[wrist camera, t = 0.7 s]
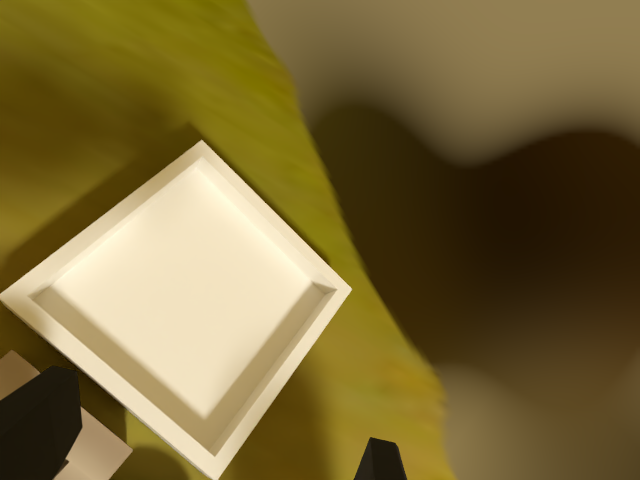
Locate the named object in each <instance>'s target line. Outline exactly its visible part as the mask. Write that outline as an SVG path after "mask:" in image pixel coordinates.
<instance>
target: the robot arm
mask: <svg viewBox="0 0 640 480" xmlns="http://www.w3.org/2000/svg"><path fill="white" fill-rule="evenodd" d="M82 428H83V425H82V415H81V405H80V395H79V385H78V375H77V371H74V370H70V369H65V368H61V367H56V366H51V367H49V368H48V369H46V370H45V371H43V372H42V373H40V374H39V375H37V376H36V377H34V378H33V379H31V380H30V381H28V382H27V383H25V384H24V385H22V386H21V387H19V388H18V389H16V390H15V391H13V392H12V393H10V394H9V395H7V396H6V397H4V398H3V399H1V400H0V480H53V478H54V477H55V475H56V474H57V472H58V471H59V469H60V467H61V466H62V464H63V462H64V461H65V459H66V457H67V455H68V454H69V452H70V450H71V448H72V446H73V444H74V443H75V441H76V439H77V437H78V435H79V433H80V432H81V430H82ZM354 480H407V477H406V474H405V471H404V467H403V464H402V460H401V457H400V453H399V449H398V446H397V445H396V443H394V442H389V441H385V440H380V439H376V438H372V437H370V439H369V441H368V444H367V447H366V449H365V452H364V454H363V457H362V460H361V462H360V465H359V467H358V470H357V473H356V475H355V478H354Z"/></svg>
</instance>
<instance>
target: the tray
mask: <svg viewBox="0 0 640 480" xmlns="http://www.w3.org/2000/svg"><path fill="white" fill-rule="evenodd" d="M351 290H352V288H351V287H350V286H349V285H348V284H347V283H346V282H344V281H343V280H342V279H341V278H340V277H339V276H338V275H337V274H336V273H335V272H334V271H333V270H332V269H331V268H330V267H329V266H328V265H327V264H326V263H325V262H324V261H323V260H322V259H321V258H320V257H319V256H318V255H317V254H316V253H315V252H314V251H313V250H312V249H311V248H310V247H309V246H308V245H307V244H306V243H305V242H304V241H303V240H302V239H301V238H300V237H299V236H298V235H297V234H296V233H295V232H294V231H293V230H292V229H291V228H290V227H289V226H288V225H287V224H286V223H285V222H284V221H283V220H282V219H281V218H280V217H279V216H278V215H277V214H276V213H275V212H274V211H273V210H272V209H271V208H270V207H269V206H268V205H267V204H266V203H265V202H264V201H263V200H262V199H261V198H260V197H259V196H258V195H257V194H256V193H255V192H254V191H253V190H252V189H251V188H250V187H249V186H248V185H247V184H246V183H245V182H244V181H243V180H242V179H241V178H240V177H239V176H238V175H237V174H236V173H235V172H234V171H233V170H232V169H231V168H230V167H229V166H228V165H227V164H226V163H225V162H224V161H223V160H222V159H221V158H220V157H219V156H218V155H217V154H216V153H215V152H214V151H213V150H212V149H211V148H210V147H209V146H208V145H207V144H206V143H205V142H204V141H203V140H201V141H200V142H198V143H197V144H196V145H194V146H193V147H192V148H190V149H189V150H188V151H187V152H185V153H184V154H183V155H181V156H180V157H179V158H177V159H176V160H175V161H173V162H172V163H171V164H170V165H168V166H167V167H166V168H164V169H163V170H162V171H160V172H159V173H158V174H156V175H155V176H154V177H153V178H151V179H150V180H149V181H147V182H146V183H145V184H143V185H142V186H141V187H139V188H138V189H137V190H136V191H134V192H133V193H132V194H130V195H129V196H128V197H126V198H125V199H124V200H122V201H121V202H120V203H118V204H117V205H116V206H115V207H113V208H112V209H111V210H109V211H108V212H107V213H105V214H104V215H103V216H101V217H100V218H99V219H98V220H96V221H95V222H94V223H92V224H91V225H90V226H88V227H87V228H86V229H84V230H83V231H82V232H81V233H79V234H78V235H77V236H75V237H74V238H73V239H71V240H70V241H69V242H67V243H66V244H65V245H64V246H62V247H61V248H60V249H58V250H57V251H56V252H54V253H53V254H52V255H50V256H49V257H48V258H47V259H45V260H44V261H43V262H41V263H40V264H39V265H37V266H36V267H35V268H33V269H32V270H31V271H30V272H28V273H27V274H26V275H24V276H23V277H22V278H20V279H19V280H18V281H16V282H15V283H14V284H13V285H11V286H10V287H9V288H7V289H6V290H5V291H3V292H2V293H1V294H0V301H1V302H2V303H3V305H4V306H5V307H6V308H8V309H9V310H10V311H11V312H12V313H14V314H15V315H16V316H17V317H18V318H19V319H21V320H22V321H23V322H24V323H25V324H27V325H28V326H29V327H30V328H31V329H32V330H34V331H35V332H36V333H37V334H38V335H40V336H41V337H42V338H43V339H44V340H45V341H47V342H48V343H49V344H50V345H51V346H53V347H54V348H55V349H56V350H57V351H58V352H60V353H61V354H62V355H63V356H64V357H66V358H67V359H68V360H69V361H70V362H71V363H73V364H74V365H75V366H76V367H77V368H79V369H80V370H81V371H82V372H83V373H84V374H86V375H87V376H88V377H89V378H90V379H92V380H93V381H94V382H95V383H96V384H97V385H99V386H100V387H101V388H102V389H103V390H105V391H106V392H107V393H108V394H109V395H110V396H112V397H113V398H114V399H115V400H116V401H118V402H119V403H120V404H121V405H122V406H123V407H125V408H126V409H127V410H128V411H129V412H131V413H132V414H133V415H134V416H135V417H136V418H138V419H139V420H140V421H141V422H142V423H144V424H145V425H146V426H147V427H148V428H149V429H151V430H152V431H153V432H154V433H155V434H157V435H158V436H159V437H160V438H161V439H162V440H164V441H165V442H166V443H167V444H168V445H170V446H171V447H172V448H173V449H174V450H175V451H177V452H178V453H179V454H180V455H181V456H183V457H184V458H185V459H186V460H187V461H188V462H190V463H191V464H192V465H193V466H194V467H196V468H197V469H198V470H199V471H200V472H201V473H203V474H204V475H205V476H207V477H209V478H210V479H212V480H218V478H219V477H220V476H221V474H222V473H223V471H224V470H225V469H226V467H227V466H228V464H229V463H230V461H231V460H232V459H233V457H234V456H235V454H236V453H237V452H238V450H239V449H240V447H241V446H242V444H243V443H244V442H245V440H246V439H247V437H248V436H249V435H250V433H251V432H252V430H253V429H254V427H255V426H256V425H257V423H258V422H259V420H260V419H261V418H262V416H263V415H264V413H265V412H266V410H267V409H268V408H269V406H270V405H271V403H272V402H273V401H274V399H275V398H276V396H277V395H278V393H279V392H280V391H281V389H282V388H283V386H284V385H285V384H286V382H287V381H288V379H289V378H290V376H291V375H292V374H293V372H294V371H295V369H296V368H297V367H298V365H299V364H300V362H301V361H302V359H303V358H304V357H305V355H306V354H307V352H308V351H309V350H310V348H311V347H312V345H313V344H314V342H315V341H316V340H317V338H318V337H319V335H320V334H321V333H322V331H323V330H324V328H325V327H326V325H327V324H328V323H329V321H330V320H331V318H332V317H333V316H334V314H335V313H336V311H337V310H338V308H339V307H340V306H341V304H342V303H343V301H344V300H345V299H346V297H347V296H348V294H349V293H350V291H351Z"/></svg>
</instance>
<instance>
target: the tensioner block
mask: <svg viewBox="0 0 640 480" xmlns="http://www.w3.org/2000/svg"><path fill="white" fill-rule="evenodd" d="M39 374H40V372H39V371H38V370H37V369H36V368H34V367H33V366H32V365H31V364H30V363H28V362H27V361H26V360H25V359H23V358H22V357H21V356H20V355H19V354H17V353H16V352H15V351H13V350H11V351H10V352H8V353H7V354H6V355H5V356H4V357H3V358H1V359H0V400H1V399H3V398H4V397H6V396H7V395H9V394H10V393H12V392H13V391H15V390H16V389H18V388H19V387H21V386H22V385H24V384H25V383H27V382H28V381H30V380H31V379H33V378H34V377H36V376H37V375H39ZM81 415H82V425H83V428H82V430H81V432H80V433H79V435H78V437H77V439H76V441H75V443H74V444H73V446H72V448H71V450H70V452H69V454H68V455H67V457H66V459H65V461H64V462H63V464H62V466H61V467H60V469H59V471H58V472H57V474H56V475H55V477H54V478H53V480H109V478H110V477H111V476H112V475H113V474H114V472H115V471H116V470H117V469H118V468H119V467H120V465H121V464H122V463H123V462H124V461H125V460H126V458H127V457H128V456H129V455H130V454H131V452H132V451H133V450H132V449H131V448H130V447H129V446H128V445H127V444H126V443H125V442H123V441H122V440H121V439H120V438H119V437H117V436H116V435H115V434H114V433H112V432H111V431H110V430H109V429H108V428H106V427H105V426H104V425H103V424H102V423H100V422H99V421H98V420H97V419H96V418H94V417H93V416H92V415H91V414H90V413H88V412H87V411H86V410H85V409H84V408H82V407H81Z"/></svg>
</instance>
